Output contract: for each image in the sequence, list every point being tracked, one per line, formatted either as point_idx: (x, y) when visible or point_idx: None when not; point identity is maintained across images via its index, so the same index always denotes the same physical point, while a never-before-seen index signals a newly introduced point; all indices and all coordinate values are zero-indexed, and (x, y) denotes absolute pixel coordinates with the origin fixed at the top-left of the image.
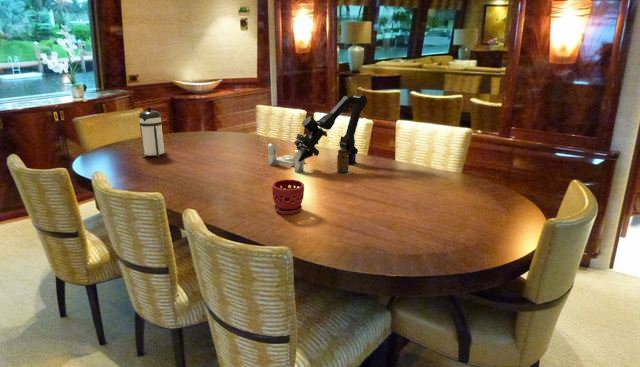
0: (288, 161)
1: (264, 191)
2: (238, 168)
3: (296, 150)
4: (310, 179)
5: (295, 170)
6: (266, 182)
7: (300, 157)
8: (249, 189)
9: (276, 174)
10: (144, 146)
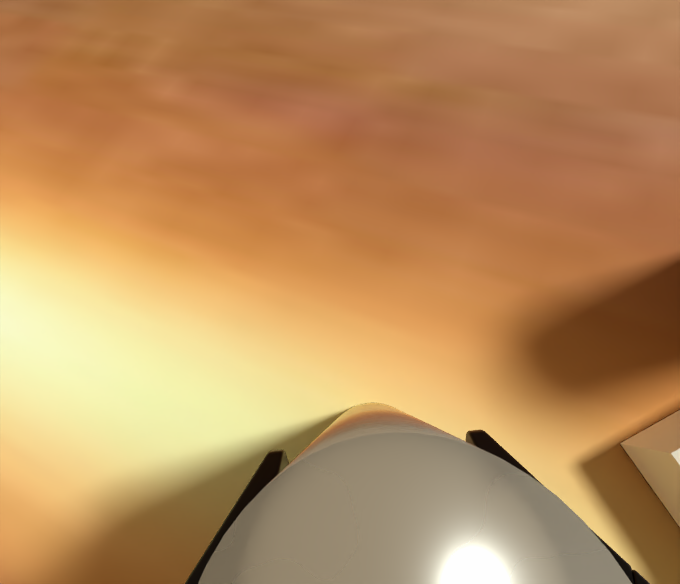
0: None
1: (53, 59)
2: (658, 9)
3: (360, 513)
4: (55, 447)
5: (362, 404)
6: (206, 101)
7: None
8: (139, 5)
9: (371, 211)
10: None
